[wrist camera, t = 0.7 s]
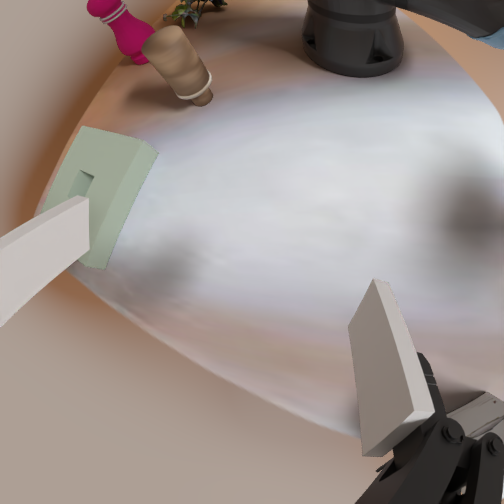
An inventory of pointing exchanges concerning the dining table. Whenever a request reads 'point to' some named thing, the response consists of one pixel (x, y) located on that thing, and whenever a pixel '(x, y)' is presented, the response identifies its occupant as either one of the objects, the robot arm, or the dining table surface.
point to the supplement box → (481, 418)
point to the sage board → (102, 185)
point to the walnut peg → (179, 64)
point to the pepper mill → (123, 27)
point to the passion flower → (183, 9)
